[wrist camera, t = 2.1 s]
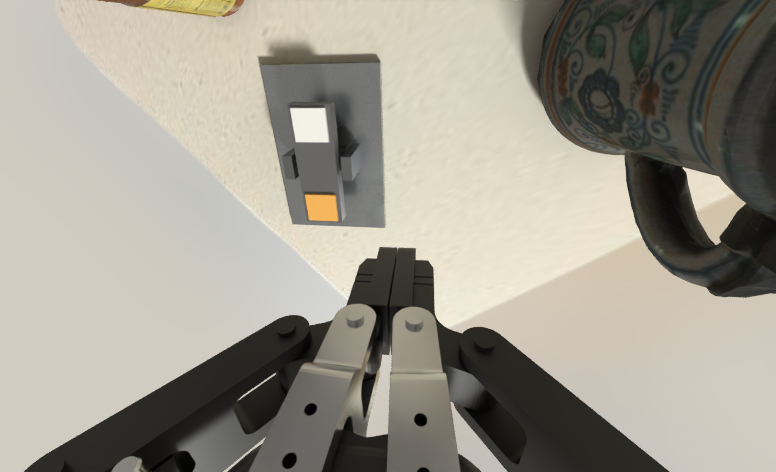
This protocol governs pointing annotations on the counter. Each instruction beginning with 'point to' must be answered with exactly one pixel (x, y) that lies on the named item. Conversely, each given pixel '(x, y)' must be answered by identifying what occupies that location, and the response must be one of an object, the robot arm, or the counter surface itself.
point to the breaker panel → (354, 128)
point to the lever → (318, 159)
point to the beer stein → (677, 121)
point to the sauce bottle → (187, 6)
